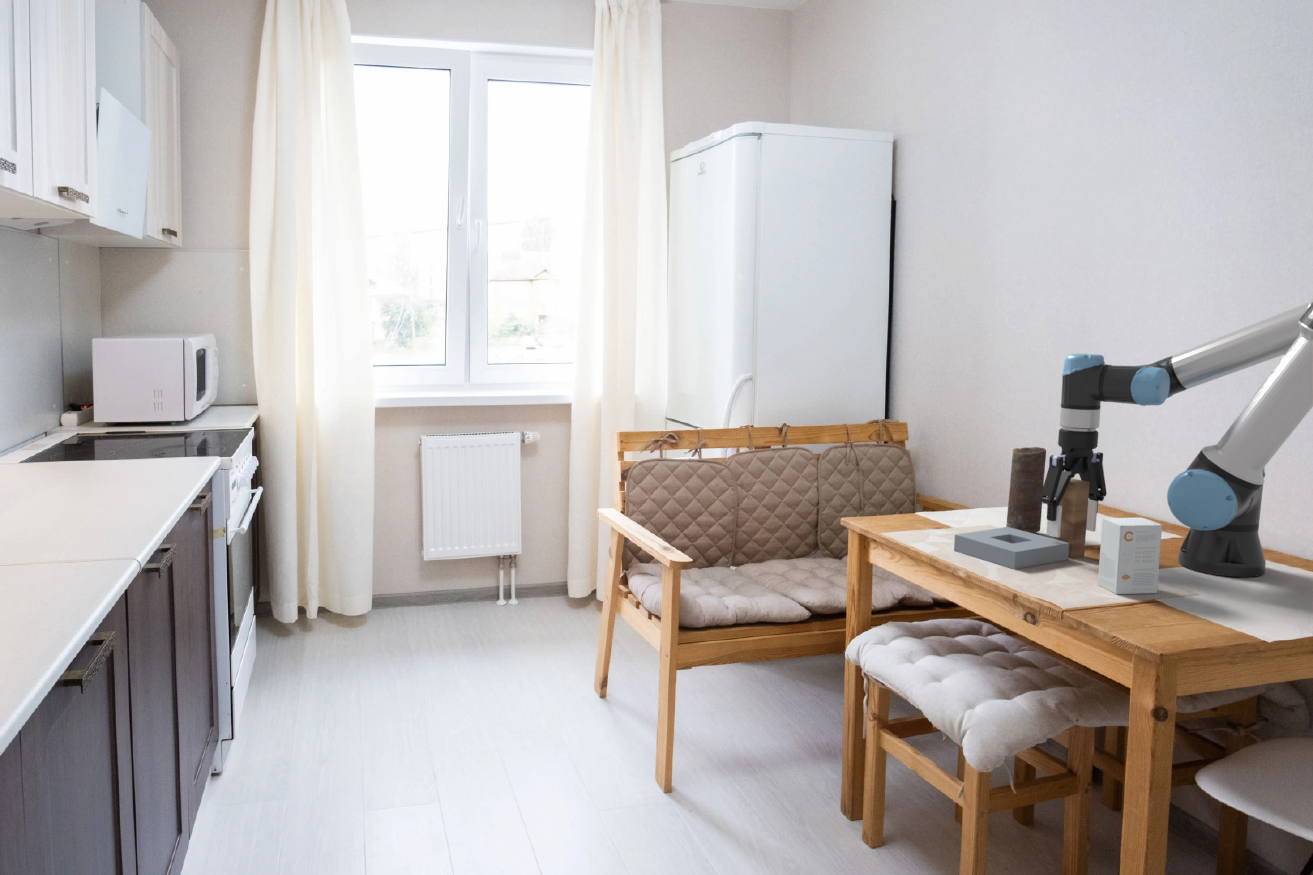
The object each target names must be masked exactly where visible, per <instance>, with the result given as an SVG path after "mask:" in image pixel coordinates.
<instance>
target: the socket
mask: <svg viewBox="0 0 1313 875" xmlns="http://www.w3.org/2000/svg"><path fill="white" fill-rule="evenodd" d="M953 542H954V544H953V551H954V552H958V553H960V552H961V554H964V555H968V556H971V557H974V558H976V559H979V560H980V559H981V560H984V561H986V562H989V563H990V562H991V563H993V564H997V565H1000V566H1003V567H1006V568H1010V569H1013V570H1017V569H1022V568H1023V569H1024V568H1028V567H1033V566H1034V567H1035V566H1039V565H1044V564H1045V565H1046V564H1050V563H1056V562H1062V561H1067V560H1069V558H1068V554H1069V543H1067V542H1063V541H1060V540H1056V538H1051V537H1049V536H1044V535H1041V534H1036V533H1029V532H1025V531H1021V530H1018V529H1014V528H1010V527H1006V526H1005V527H1004V526H1003V527H997V528H991V529H983V530H977V531H971V532H964V533H957V534H954V541H953Z"/></svg>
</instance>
